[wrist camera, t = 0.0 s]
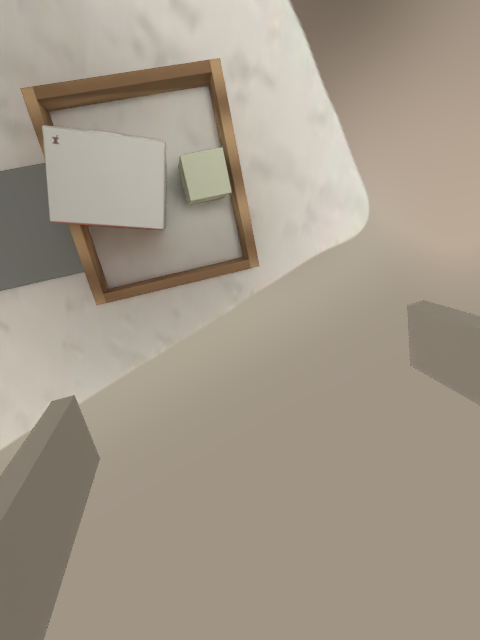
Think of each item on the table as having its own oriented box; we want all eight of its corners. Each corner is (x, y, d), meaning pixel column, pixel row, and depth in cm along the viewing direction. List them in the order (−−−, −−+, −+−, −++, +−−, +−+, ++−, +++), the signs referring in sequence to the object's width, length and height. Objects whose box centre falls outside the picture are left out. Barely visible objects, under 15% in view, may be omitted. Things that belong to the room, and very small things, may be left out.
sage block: (178, 166, 36) (179, 154, 30) (214, 159, 36) (222, 146, 31) (187, 205, 37) (190, 200, 31) (222, 197, 37) (231, 192, 32)
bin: (33, 101, 32) (20, 88, 29) (215, 72, 34) (219, 58, 31) (102, 299, 38) (96, 305, 35) (253, 263, 40) (259, 266, 37)
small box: (89, 225, 35) (46, 222, 23) (86, 160, 34) (38, 121, 22) (167, 230, 37) (165, 230, 25) (167, 169, 36) (165, 137, 23)
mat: (-69, 185, 32) (-73, 184, 31) (49, 163, 33) (47, 162, 33) (-19, 294, 35) (-22, 295, 34) (87, 270, 37) (86, 271, 36)
